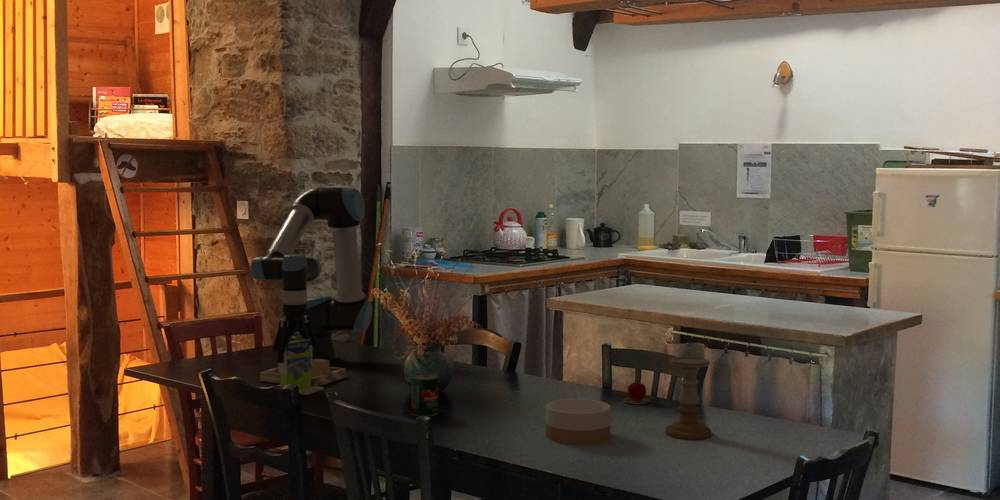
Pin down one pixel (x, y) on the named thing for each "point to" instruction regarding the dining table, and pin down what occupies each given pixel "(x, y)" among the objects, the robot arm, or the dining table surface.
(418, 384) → the canned tomato
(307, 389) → the sage mat
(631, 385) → the apple
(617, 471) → the dining table surface
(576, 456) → the dining table surface
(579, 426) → the brown round container
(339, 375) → the crate frame
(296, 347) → the box
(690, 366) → the candle holder
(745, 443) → the dining table surface
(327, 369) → the terracotta block
